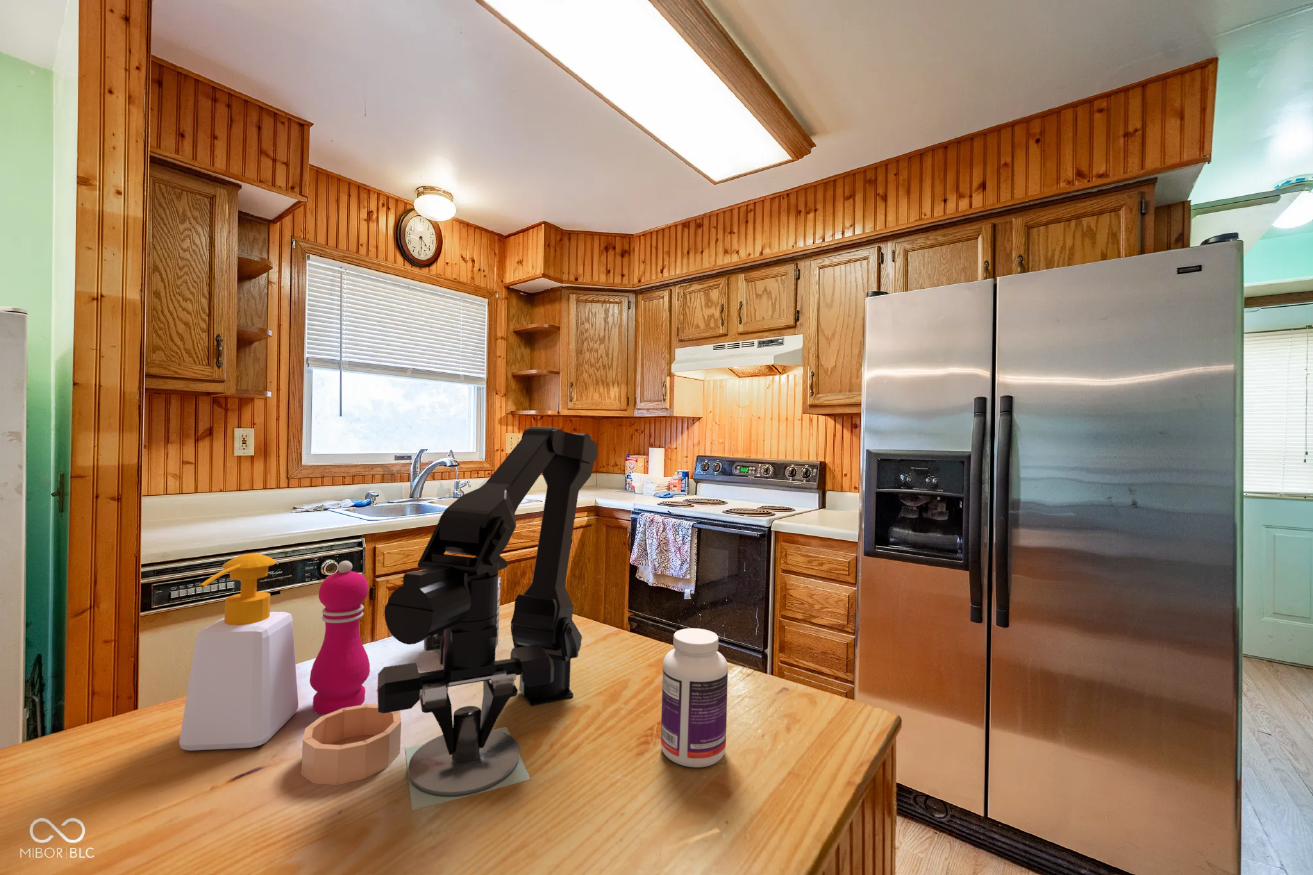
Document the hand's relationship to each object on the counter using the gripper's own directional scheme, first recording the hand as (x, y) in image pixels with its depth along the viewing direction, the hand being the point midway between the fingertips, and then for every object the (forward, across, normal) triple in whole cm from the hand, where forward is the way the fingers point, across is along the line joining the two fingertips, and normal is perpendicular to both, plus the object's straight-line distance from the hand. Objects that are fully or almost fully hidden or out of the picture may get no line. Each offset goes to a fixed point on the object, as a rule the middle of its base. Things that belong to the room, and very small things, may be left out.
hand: (466, 749), depth 63 cm
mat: (+2, 0, 0) cm, 2 cm away
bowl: (+2, +12, -6) cm, 13 cm away
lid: (+2, 0, 0) cm, 2 cm away
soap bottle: (+2, +24, -16) cm, 30 cm away
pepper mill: (+2, +14, -22) cm, 25 cm away
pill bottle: (+2, -26, +8) cm, 27 cm away
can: (+2, -6, -36) cm, 37 cm away
